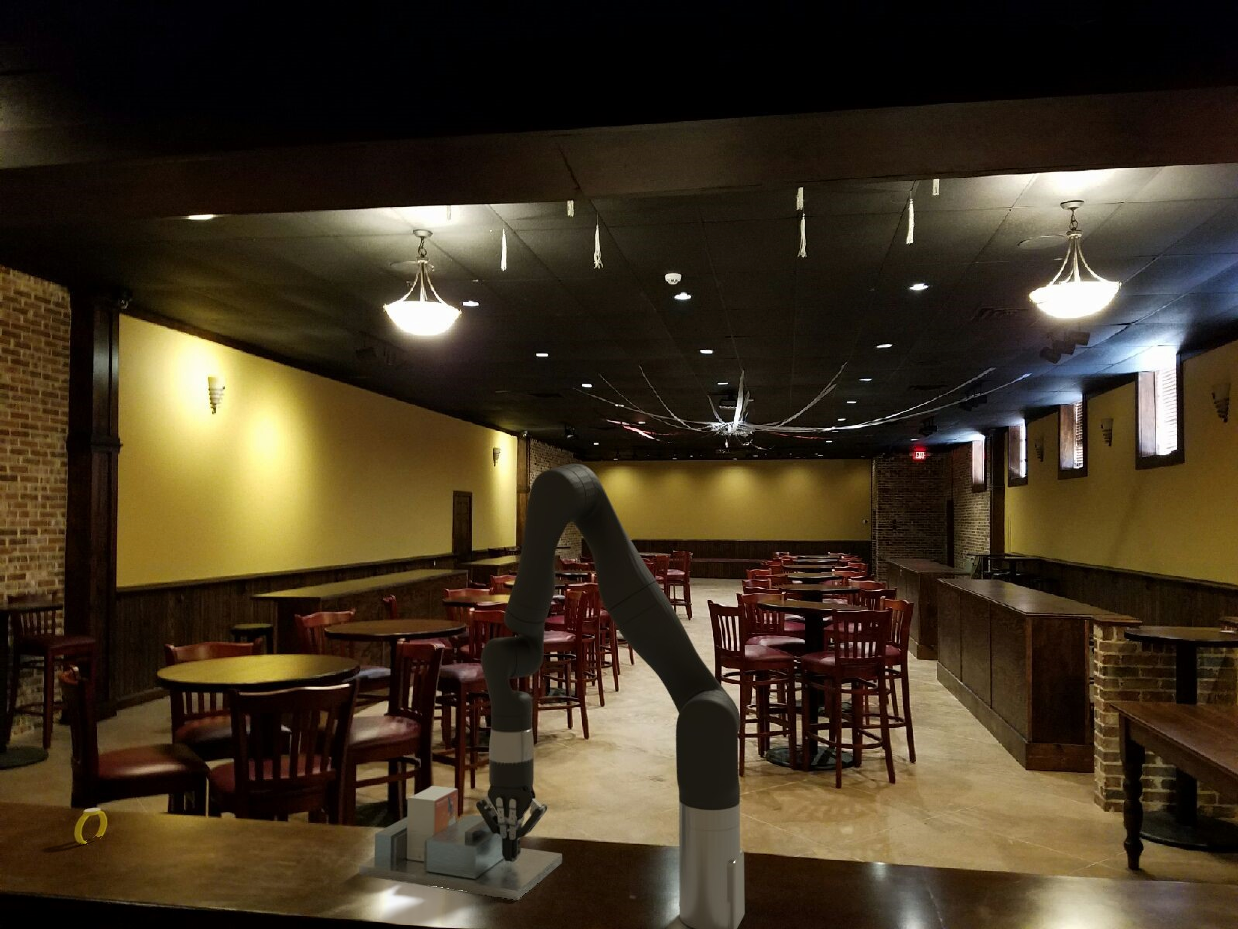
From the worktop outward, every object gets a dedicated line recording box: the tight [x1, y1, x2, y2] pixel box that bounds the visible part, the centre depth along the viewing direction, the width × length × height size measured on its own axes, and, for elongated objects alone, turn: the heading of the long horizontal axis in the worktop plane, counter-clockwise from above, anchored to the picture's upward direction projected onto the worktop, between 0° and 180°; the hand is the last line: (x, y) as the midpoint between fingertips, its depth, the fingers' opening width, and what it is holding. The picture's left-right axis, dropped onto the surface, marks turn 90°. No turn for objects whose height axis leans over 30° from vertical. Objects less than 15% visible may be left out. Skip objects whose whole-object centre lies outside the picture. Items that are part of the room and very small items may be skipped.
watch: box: [74, 807, 108, 845], centre depth 164 cm, size 6×3×6 cm, turn 164°
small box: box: [406, 785, 459, 861], centre depth 154 cm, size 8×6×10 cm
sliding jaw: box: [424, 814, 504, 879], centre depth 151 cm, size 10×14×6 cm
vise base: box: [358, 816, 563, 901], centre depth 151 cm, size 30×17×6 cm, turn 69°
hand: (511, 860), depth 148 cm, fingers closed
